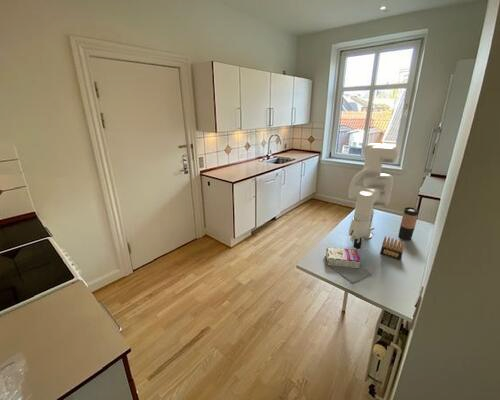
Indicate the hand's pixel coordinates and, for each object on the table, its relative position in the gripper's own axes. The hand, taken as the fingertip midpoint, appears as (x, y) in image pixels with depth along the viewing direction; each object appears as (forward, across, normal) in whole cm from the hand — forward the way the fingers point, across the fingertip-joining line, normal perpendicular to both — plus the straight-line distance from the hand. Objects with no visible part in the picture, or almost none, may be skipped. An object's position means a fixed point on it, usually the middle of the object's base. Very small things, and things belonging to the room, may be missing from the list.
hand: (356, 247), depth 125 cm
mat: (+12, +4, 0) cm, 13 cm away
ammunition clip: (+12, -26, +3) cm, 29 cm away
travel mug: (+12, -53, -6) cm, 55 cm away
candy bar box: (+9, -4, -1) cm, 10 cm away
